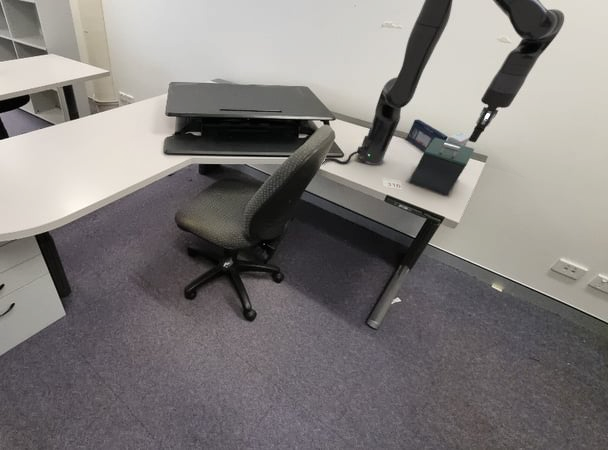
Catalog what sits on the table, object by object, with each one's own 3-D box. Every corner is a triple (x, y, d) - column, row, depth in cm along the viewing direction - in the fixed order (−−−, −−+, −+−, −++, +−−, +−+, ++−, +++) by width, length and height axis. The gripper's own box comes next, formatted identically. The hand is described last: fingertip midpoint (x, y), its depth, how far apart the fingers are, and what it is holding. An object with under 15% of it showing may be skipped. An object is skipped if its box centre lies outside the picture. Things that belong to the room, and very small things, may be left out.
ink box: (446, 166, 139) (460, 141, 132) (434, 161, 142) (448, 136, 135) (456, 161, 143) (471, 136, 135) (445, 156, 146) (459, 131, 138)
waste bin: (446, 196, 123) (465, 166, 114) (408, 182, 129) (423, 153, 121) (455, 179, 132) (473, 150, 123) (419, 167, 138) (434, 139, 130)
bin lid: (465, 166, 113) (473, 153, 110) (423, 153, 120) (430, 140, 117) (473, 150, 123) (480, 138, 120) (434, 139, 130) (440, 127, 127)
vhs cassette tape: (405, 139, 158) (414, 119, 152) (410, 138, 159) (420, 119, 152) (431, 158, 145) (442, 137, 138) (437, 157, 145) (448, 136, 139)
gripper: (492, 80, 104) (463, 131, 116) (485, 90, 97) (455, 144, 108) (520, 85, 101) (487, 137, 112) (516, 97, 93) (481, 151, 104)
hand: (472, 140), depth 110 cm, fingers closed
